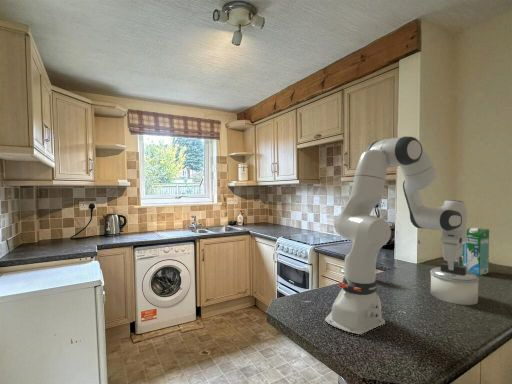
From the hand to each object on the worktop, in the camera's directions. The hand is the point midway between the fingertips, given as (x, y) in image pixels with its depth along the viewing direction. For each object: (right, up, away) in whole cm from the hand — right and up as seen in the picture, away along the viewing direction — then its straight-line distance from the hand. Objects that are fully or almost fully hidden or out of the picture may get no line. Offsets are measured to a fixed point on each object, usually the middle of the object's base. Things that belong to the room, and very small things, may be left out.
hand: (453, 267), depth 121 cm
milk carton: (+37, -12, +34) cm, 52 cm away
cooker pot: (0, -13, 0) cm, 13 cm away
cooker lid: (0, -3, 0) cm, 3 cm away
